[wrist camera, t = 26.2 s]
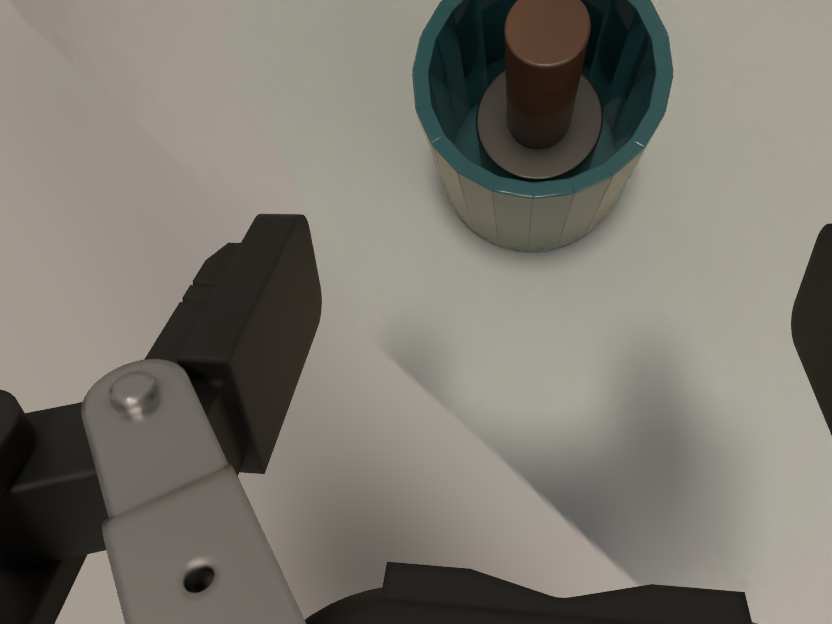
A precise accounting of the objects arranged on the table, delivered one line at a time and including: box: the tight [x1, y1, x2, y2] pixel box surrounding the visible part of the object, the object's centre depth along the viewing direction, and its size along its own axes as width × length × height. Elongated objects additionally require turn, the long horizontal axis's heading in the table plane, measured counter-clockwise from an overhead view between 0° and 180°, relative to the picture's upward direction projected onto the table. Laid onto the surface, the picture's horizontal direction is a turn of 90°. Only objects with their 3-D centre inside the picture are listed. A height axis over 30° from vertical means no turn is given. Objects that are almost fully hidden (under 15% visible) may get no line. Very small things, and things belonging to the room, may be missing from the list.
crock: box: [412, 0, 673, 252], centre depth 25 cm, size 8×8×9 cm
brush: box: [476, 0, 603, 183], centre depth 24 cm, size 4×4×11 cm
